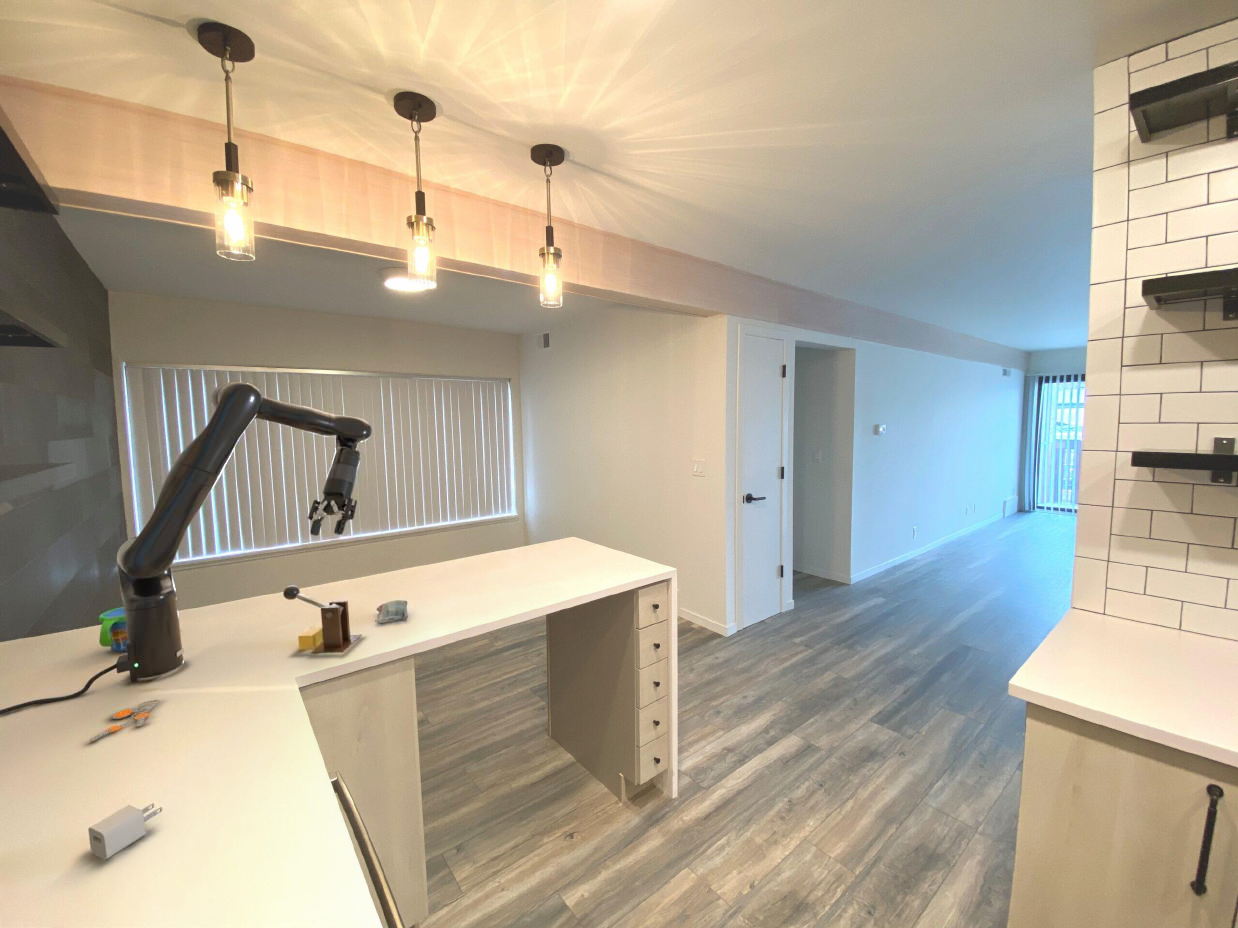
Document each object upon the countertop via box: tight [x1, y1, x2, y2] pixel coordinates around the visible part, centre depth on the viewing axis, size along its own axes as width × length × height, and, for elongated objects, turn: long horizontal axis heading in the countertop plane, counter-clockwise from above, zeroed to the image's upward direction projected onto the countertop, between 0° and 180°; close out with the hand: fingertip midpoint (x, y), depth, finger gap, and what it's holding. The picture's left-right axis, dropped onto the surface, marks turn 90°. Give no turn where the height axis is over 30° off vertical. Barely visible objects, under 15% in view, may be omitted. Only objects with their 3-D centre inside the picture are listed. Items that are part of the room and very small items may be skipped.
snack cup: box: [98, 606, 128, 653], centre depth 135 cm, size 16×10×10 cm
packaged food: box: [374, 599, 408, 624], centre depth 151 cm, size 9×12×5 cm
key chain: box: [88, 699, 161, 742], centre depth 102 cm, size 13×7×1 cm, turn 20°
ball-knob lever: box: [282, 585, 344, 615], centre depth 132 cm, size 15×4×4 cm, turn 92°
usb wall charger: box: [88, 803, 163, 860], centre depth 73 cm, size 4×7×4 cm, turn 159°
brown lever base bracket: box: [310, 600, 362, 654], centre depth 132 cm, size 8×10×12 cm
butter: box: [297, 626, 323, 651], centre depth 133 cm, size 5×8×5 cm, turn 2°
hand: (325, 534), depth 143 cm, fingers open, 8 cm apart
